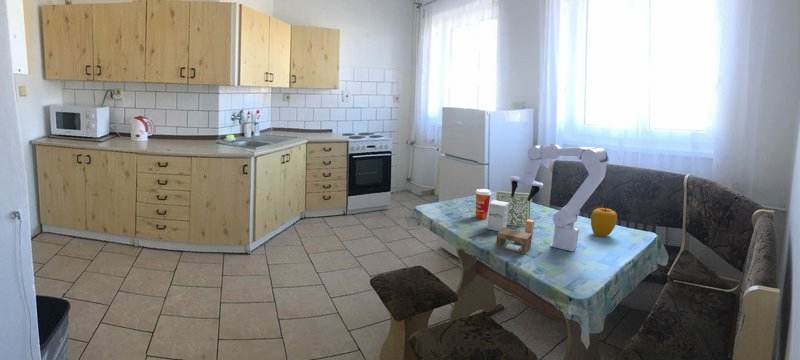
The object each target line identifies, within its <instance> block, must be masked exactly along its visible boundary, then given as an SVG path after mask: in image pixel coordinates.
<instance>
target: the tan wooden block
mask: <svg viewBox="0 0 800 360" xmlns="http://www.w3.org/2000/svg"><path fill="white" fill-rule="evenodd" d="M535 222H536V221H535V220H534V219H529V218H527V220H526V221H525V229H524V232H526V233H531V234H532V235H533V234H534V229H535ZM513 242H514V244H516V245H522V243H519V242H515V241H513Z"/></svg>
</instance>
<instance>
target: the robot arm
mask: <svg viewBox="0 0 800 360" xmlns="http://www.w3.org/2000/svg"><path fill="white" fill-rule="evenodd" d="M527 156H528V157H527V160H526V162H525V165H524V168H523V171H522V174H521V176H515V175H510V176H509V182H511V184H510V185H511V193H510V196H511V198H514V197H515V193H516V190H517V188H518V187H519V186H518V184H523V185H528V186H531V189H530V192H529V194H528V196H527V201H528V202H531V200H532V199H533V197H535V195H536V194H538V193H539V191H540V189H541V190H542V189H543V186H544V184H543V182H540V181H536V180H535V179H536V176H537V174H538V171H539V168H540V164H541V163H542V160H551V159H552V160H558V159H559V158H560V157H561V156H562V157H563V156H564V157H567V156H568V157H577V159H578V160H579V161H580V160H581V162H582V164H583V166H584V167H585V169H586V170H587V173H588V175H587V177H586V178H585V180H584V181H583V182H582V184H581V185H580V186H579V187H578V189H577V190H576V191H575V193H574V194H573V196H572V197H571V198H570V199H569V201H568V202H567V204H565V205H564V206H563V207H561V209H560V210H559V211H557V212H555V213H554V214H553V216H552V222H553V224H554V232H553V239H552V242H551V243H550V244H549V246H550V247H552V248H556V249H560V250H565V251H570V252H574V251H575V250H576V248H577V246H578V238H579V233H580V230H579V228H576V227H574V224H575V223H576V222H577V221H578V217H579V215H580V213H581V211H580V210H581V209H582V207H583V206H584V205H585V203H586V202H587V201H588V199H589V198H590V197H591V195H592V194H593V193H594V192H595V190H596V189H597V187H599V185H600V184H601V183H602V182H603V180H604V179H605V176H606V174H607V165H608V163H609V154H608V152H607V151H606V150H605V149H604V148H603V147H597V148H595V147H591V146H575V147H560V146H559V144H555V143H550V144H549V145H545V144H542V143H541V144H540V145H532V146H530V147H529V148H528V149H527Z"/></svg>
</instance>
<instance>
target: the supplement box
mask: <svg viewBox="0 0 800 360" xmlns="http://www.w3.org/2000/svg"><path fill="white" fill-rule="evenodd" d="M509 206H510V202H507V201H502V200H497V199H494V200H492V201H491V202H489V208H488V215H487V226H486V230H492V231H496V232H499V231H500V230H502V229H503V228H507V223H508V216H509V215H508V214H509Z"/></svg>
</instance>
